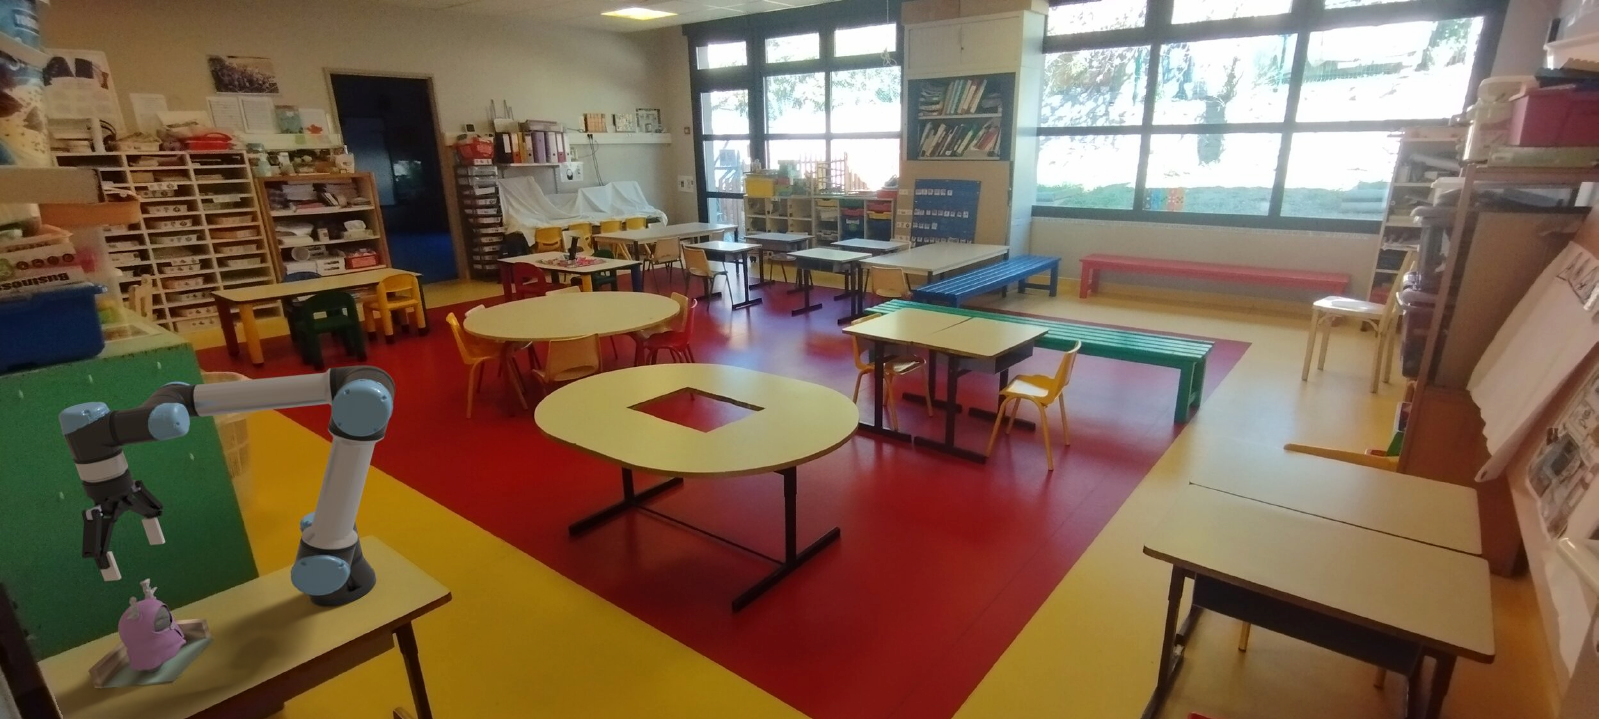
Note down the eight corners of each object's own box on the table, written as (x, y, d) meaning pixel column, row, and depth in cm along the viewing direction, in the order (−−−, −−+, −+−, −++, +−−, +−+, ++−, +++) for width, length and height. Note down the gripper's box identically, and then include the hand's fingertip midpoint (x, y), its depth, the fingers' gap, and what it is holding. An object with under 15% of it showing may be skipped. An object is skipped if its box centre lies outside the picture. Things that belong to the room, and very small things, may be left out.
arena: (218, 633, 176) (213, 616, 174) (172, 682, 161) (166, 664, 159) (148, 639, 174) (142, 622, 172) (95, 688, 159) (88, 670, 157)
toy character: (177, 675, 162) (151, 600, 156) (121, 685, 159) (92, 609, 153) (202, 640, 173) (179, 568, 167) (150, 648, 170) (125, 576, 164)
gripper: (128, 450, 163) (157, 531, 170) (34, 506, 140) (71, 597, 147) (165, 447, 164) (191, 528, 171) (77, 503, 141) (112, 594, 148)
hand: (136, 560), depth 159 cm, fingers open, 13 cm apart
